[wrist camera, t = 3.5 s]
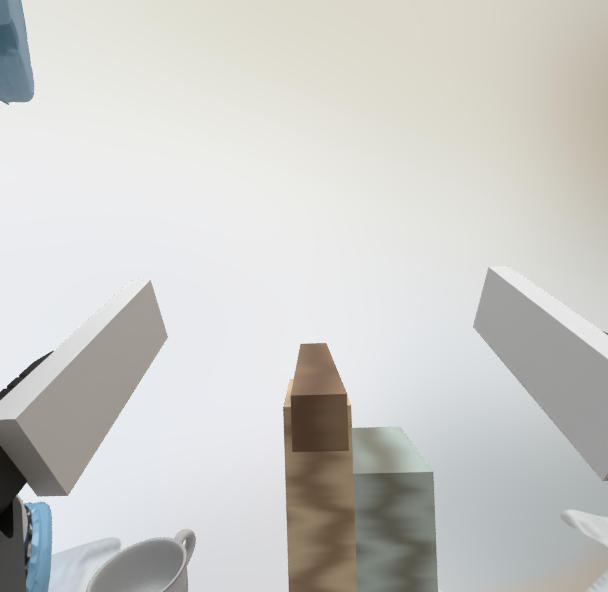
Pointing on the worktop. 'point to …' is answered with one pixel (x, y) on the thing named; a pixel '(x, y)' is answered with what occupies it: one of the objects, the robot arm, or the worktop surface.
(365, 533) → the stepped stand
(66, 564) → the worktop surface
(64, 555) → the worktop surface
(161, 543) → the teacup
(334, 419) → the rail
